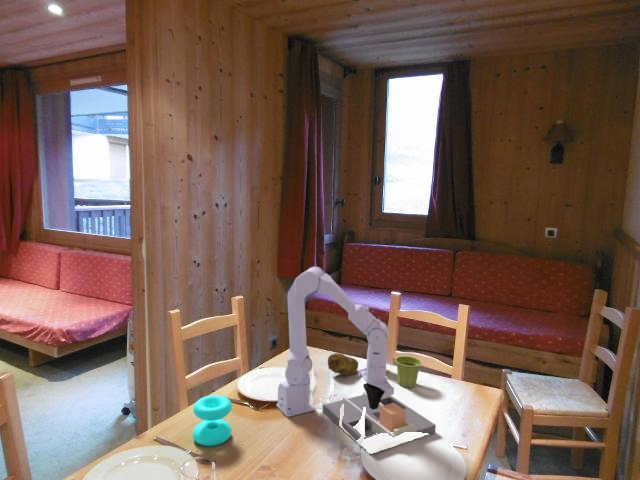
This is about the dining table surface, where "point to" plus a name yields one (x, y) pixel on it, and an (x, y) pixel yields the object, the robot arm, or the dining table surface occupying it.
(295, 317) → the robot arm
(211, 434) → the donuts
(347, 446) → the dining table surface
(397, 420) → the terracotta block
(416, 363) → the plant pot
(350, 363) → the potato
